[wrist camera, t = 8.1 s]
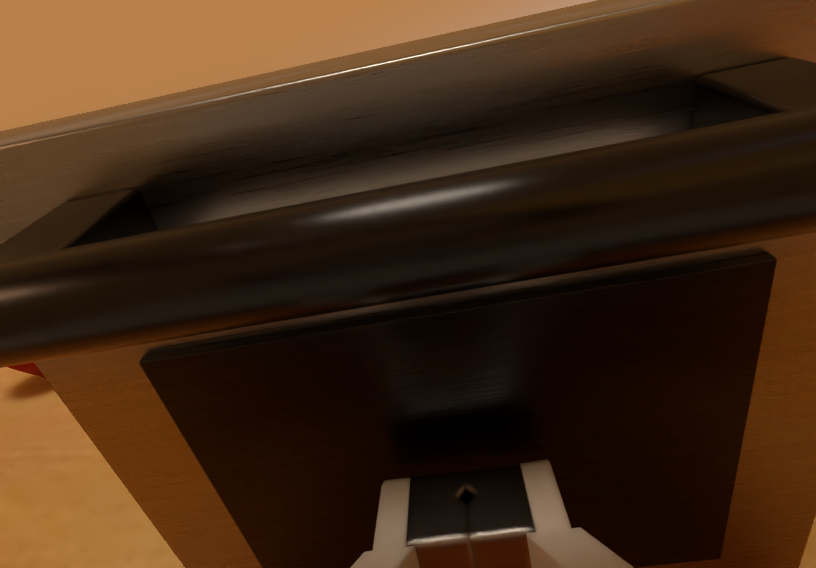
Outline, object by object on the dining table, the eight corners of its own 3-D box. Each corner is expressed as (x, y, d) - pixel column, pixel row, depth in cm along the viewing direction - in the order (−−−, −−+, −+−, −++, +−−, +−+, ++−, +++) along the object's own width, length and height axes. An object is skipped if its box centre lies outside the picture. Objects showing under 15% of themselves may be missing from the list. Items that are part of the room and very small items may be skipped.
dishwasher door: (872, 731, 10) (1404, -103, 3) (212, 777, 12) (-348, 260, 5) (753, 535, 14) (895, -66, 7) (258, 589, 15) (-28, 137, 9)
